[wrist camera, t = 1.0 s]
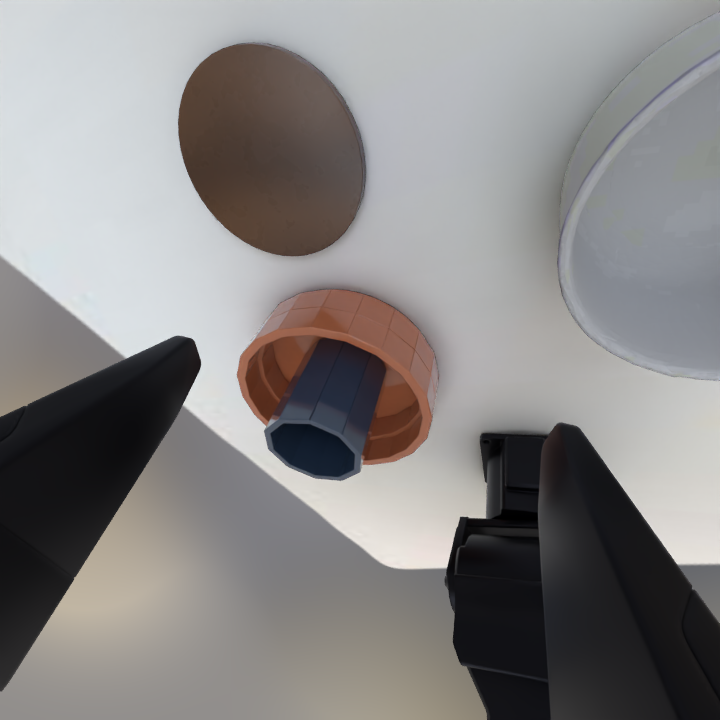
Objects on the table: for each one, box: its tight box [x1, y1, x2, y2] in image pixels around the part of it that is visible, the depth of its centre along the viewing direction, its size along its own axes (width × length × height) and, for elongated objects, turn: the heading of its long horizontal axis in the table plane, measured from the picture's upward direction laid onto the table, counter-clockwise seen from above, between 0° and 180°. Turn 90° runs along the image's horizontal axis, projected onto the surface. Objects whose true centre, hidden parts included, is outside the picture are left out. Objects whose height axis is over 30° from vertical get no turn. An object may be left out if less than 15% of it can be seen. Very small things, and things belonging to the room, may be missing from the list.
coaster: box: [178, 42, 366, 256], centre depth 20 cm, size 10×10×1 cm
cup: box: [264, 337, 387, 481], centre depth 26 cm, size 6×6×8 cm
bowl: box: [237, 289, 439, 465], centre depth 28 cm, size 13×13×4 cm
